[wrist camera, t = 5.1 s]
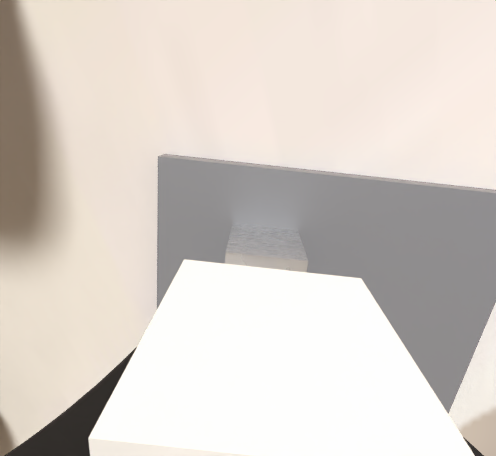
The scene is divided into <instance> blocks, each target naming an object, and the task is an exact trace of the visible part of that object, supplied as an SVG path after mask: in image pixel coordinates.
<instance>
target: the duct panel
mask: <svg viewBox="0 0 496 456" xmlns="http://www.w3.org/2000/svg"><path fill="white" fill-rule="evenodd" d="M233 223H236V224H245V225H254V226H263V227H273V228H282V229H291V230H298V233H299V236H300V239H301V241H302V244H303V247H304V250H305V253H306V256H307V259H308V266H307V271H306V272H307V273H316V274H325V275H335V276H344V277H353V278H361V279H362V280H363V282H364V284H365V285H366V287H367V288H368V290H369V291H370V293H371V294H372V296H373V298H374V299H375V301H376V302H377V304H378V305H379V307H380V309H381V310H382V312H383V313H384V315H385V316H386V318H387V319H388V321H389V323H390V324H391V326H392V327H393V329H394V330H395V332H396V333H397V335H398V337H399V338H400V340H401V341H402V343H403V344H404V346H405V348H406V349H407V351H408V352H409V354H410V355H411V357H412V358H413V360H414V362H415V363H416V365H417V366H418V368H419V369H420V371H421V373H422V374H423V376H424V377H425V379H426V380H427V382H428V383H429V385H430V387H431V388H432V390H433V391H434V393H435V394H436V396H437V397H438V399H439V401H440V402H441V404H442V405H443V407H444V408H445V410H446V412H447V413H449V411H450V408H451V406H452V404H453V401H454V399H455V397H456V394H457V392H458V389H459V387H460V385H461V382H462V380H463V378H464V375H465V373H466V371H467V368H468V366H469V364H470V361H471V359H472V356H473V354H474V352H475V349H476V347H477V345H478V342H479V340H480V338H481V335H482V333H483V331H484V328H485V326H486V323H487V321H488V319H489V316H490V314H491V312H492V309H493V307H494V305H495V302H496V190H491V189H481V188H472V187H463V186H454V185H445V184H435V183H426V182H417V181H408V180H399V179H389V178H380V177H371V176H362V175H353V174H343V173H334V172H325V171H316V170H307V169H297V168H288V167H279V166H270V165H260V164H251V163H242V162H233V161H224V160H214V159H205V158H196V157H187V156H178V155H168V154H164V155H161V156H158V237H157V309H158V307H159V305H160V303H161V302H162V300H163V298H164V296H165V294H166V292H167V290H168V289H169V287H170V285H171V283H172V281H173V279H174V277H175V275H176V274H177V272H178V270H179V268H180V266H181V264H182V262H183V261H184V259H186V260H195V261H205V262H214V263H223V264H225V254H226V249H227V245H228V241H229V237H230V233H231V229H232V225H233Z"/></svg>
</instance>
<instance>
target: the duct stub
mask: <svg viewBox="0 0 496 456" xmlns="http://www.w3.org/2000/svg"><path fill="white" fill-rule="evenodd" d="M225 264H232V265H242V266H251V267H260V268H270V269H279V270H288V271H298V272H306V271H307V266H308V259H307V256H306V253H305V250H304V247H303V244H302V241H301V239H300V236H299V233H298V230H291V229H282V228H273V227H263V226H254V225H245V224H236V223H233V225H232V229H231V233H230V237H229V241H228V245H227V249H226V254H225Z"/></svg>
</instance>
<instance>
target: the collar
mask: <svg viewBox="0 0 496 456" xmlns="http://www.w3.org/2000/svg"><path fill="white" fill-rule="evenodd" d="M88 440H89V450H90V456H475V455H474V454H473V452H472V451H471V449H470V447H469V446H468V444H467V443H466V441H465V440H464V438H463V437H462V435H461V433H460V432H459V430H458V429H457V427H456V426H455V424H454V422H453V421H452V419H451V418H450V416H449V415H448V413H447V412H446V410H445V408H444V407H443V405H442V404H441V402H440V401H439V399H438V397H437V396H436V394H435V393H434V391H433V390H432V388H431V387H430V385H429V383H428V382H427V380H426V379H425V377H424V376H423V374H422V373H421V371H420V369H419V368H418V366H417V365H416V363H415V362H414V360H413V358H412V357H411V355H410V354H409V352H408V351H407V349H406V348H405V346H404V344H403V343H402V341H401V340H400V338H399V337H398V335H397V333H396V332H395V330H394V329H393V327H392V326H391V324H390V323H389V321H388V319H387V318H386V316H385V315H384V313H383V312H382V310H381V309H380V307H379V305H378V304H377V302H376V301H375V299H374V298H373V296H372V294H371V293H370V291H369V290H368V288H367V287H366V285H365V284H364V282H363V280H362V279H361V278H353V277H344V276H335V275H325V274H316V273H307V272H298V271H288V270H279V269H270V268H260V267H251V266H242V265H232V264H223V263H214V262H205V261H195V260H186V259H184V261H183V262H182V264H181V266H180V268H179V270H178V272H177V274H176V275H175V277H174V279H173V281H172V283H171V285H170V287H169V289H168V290H167V292H166V294H165V296H164V298H163V300H162V302H161V303H160V305H159V307H158V309H157V311H156V313H155V315H154V317H153V318H152V320H151V322H150V324H149V326H148V328H147V330H146V331H145V333H144V335H143V337H142V339H141V341H140V343H139V344H138V346H137V348H136V350H135V352H134V354H133V356H132V358H131V359H130V361H129V363H128V365H127V367H126V369H125V371H124V372H123V374H122V376H121V378H120V380H119V382H118V384H117V386H116V387H115V389H114V391H113V393H112V395H111V397H110V399H109V400H108V402H107V404H106V406H105V408H104V410H103V412H102V414H101V415H100V417H99V419H98V421H97V423H96V425H95V427H94V428H93V430H92V432H91V434H90V436H89V438H88Z"/></svg>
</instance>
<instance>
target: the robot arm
mask: <svg viewBox="0 0 496 456" xmlns="http://www.w3.org/2000/svg"><path fill="white" fill-rule="evenodd" d="M136 348H137V347H136ZM136 348H135V349H134V350H133V351H132V352H131V353H130V354H129V355H128V356H127V357H126V358H125V359H124V360H123V361H122V362H121V363H120V364H119V365H117V366H116V367H115V368H114V369H113V370H112V371H111V372H110V373H109V374H108V375H107V376H106V377H105V378H103V379H102V380H101V381H100V382H99V383H98V384H97V385H96V386H95V387H93V388H92V389H91V390H90V391H89V392H87V393H86V394H85V395H84V396H83V397H82V398H80V399H79V400H78V401H77V402H76V403H74V404H73V405H72V406H71V407H70V408H68V409H67V410H66V411H65V412H63V413H62V414H61V415H60V416H58V417H57V418H56V419H55V420H53V421H52V422H51V423H49V424H48V425H47V426H45V427H44V428H43V429H41V430H40V431H39V432H37V433H36V434H35V435H33V436H32V437H31V438H29V439H28V440H27V441H25V442H24V443H22V444H21V445H19V446H18V447H17V448H15V449H14V450H12V451H11V452H9V453H8V454H6V455H5V456H90V450H89V440H88V438H89V436H90V434H91V432H92V430H93V428H94V427H95V425H96V423H97V421H98V419H99V417H100V415H101V414H102V412H103V410H104V408H105V406H106V404H107V402H108V400H109V399H110V397H111V395H112V393H113V391H114V389H115V387H116V386H117V384H118V382H119V380H120V378H121V376H122V374H123V372H124V371H125V369H126V367H127V365H128V363H129V361H130V359H131V358H132V356H133V354H134V352H135V350H136ZM462 437H463V436H462ZM463 438H464V437H463ZM464 440H465V441H466V443H467V444H468V446H469V447H470V449H471V451H472V452H473V454H474V455H475V456H484V455H482V454H481V453H480V452H479V451H478V450H477V449H476V448H475V447H474V446H472V445H471V444H470V443H469V442H468V441H467V440H466V439H465V438H464Z"/></svg>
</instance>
